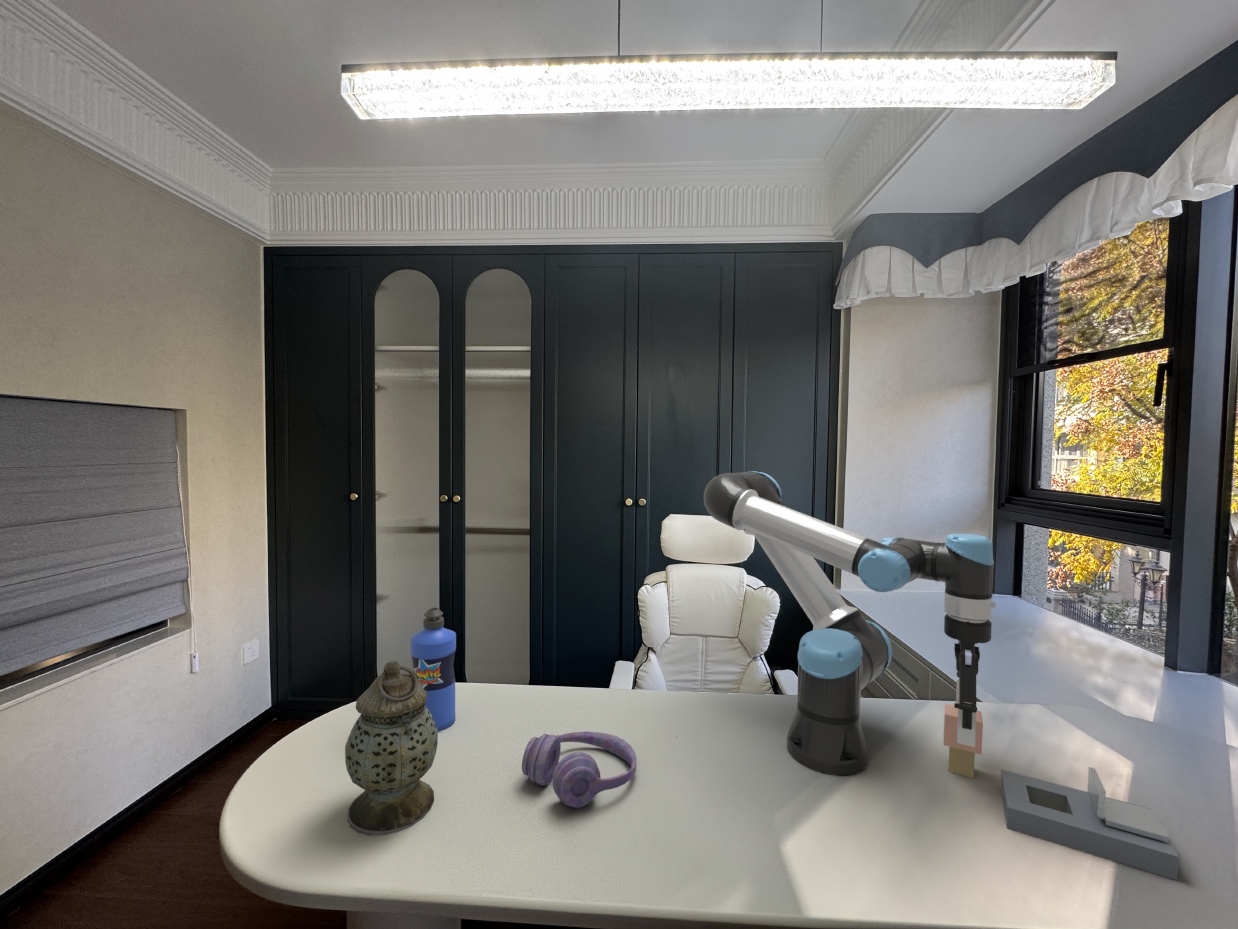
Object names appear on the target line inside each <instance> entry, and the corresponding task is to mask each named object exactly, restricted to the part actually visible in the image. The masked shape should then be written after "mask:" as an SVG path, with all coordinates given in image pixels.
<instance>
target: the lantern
mask: <svg viewBox="0 0 1238 929" xmlns="http://www.w3.org/2000/svg"><path fill="white" fill-rule="evenodd" d="M426 701H427V692H426V691H425V690H424V689H423V688H422V687H421V686H420V685H419V684H418V680H417V677H416V675H415V674H414V670H412V669H411V668H408V667H406V666H404V665H403V666H402V665H401V664H400V663H399V662H398V661H396V660H389V661H388V662H387V663H385V664H384V667H383V671H382V673H381V674H380V675H379V676H377V677H376V678H375V679H374V681H373V682H372V683H371V685H370V686H369V687H368V688H367V689H366V690H365V691H363V693H362V694H361V695H360V696H359V697H358V698H357V699H356V701H355V710H356V711H357V713H358V714H360V715H359V717H358V718H357V720H356V721H355V723H354V724H353V727H352V729H351V730H350V733H349V735H348V738H347V741H346V744H345V745H344V758H345V759H344V761H345V767H346V771H347V774H348V775H349V778H350V780H351V783H353V784H355V785H356V786H358V787H359V788H361V789H363V792H362V793H360V794H359V795H358V796H357V797H356V798H355V799H354V800H353V801H352V802H351V803H350V805H349V807H348V808H347V822H348V823H349V826H350V828H351V829H352V830H354V831H355V832H357V833H358V834H364V835H367V836H384V835H389V834H394V833H397V832H400V831H402V830H405V829H407V828H409V827H412V826H413V825H414V824H416V823H418V822H419V821H421V820H422V819H423V818H425V817H426V816H427V814H428V813H429V812H430V811H431V810H432V807H433V805H434V803H435V795H434V794H435V793H434V792H435V791H434V790H433V788H432V787H431V785H430V784H428V783H426V782H424V781H422V780H421V779H422V778H423V777H424V776H425V775H426V774H427V772H428V771H429V770H430V769H431V768H432V766H433V764H434V763H433V762H434V760H435V757H436V754H437V751H438V750H437V749H438V744H439V743H438V740H439V739H438V735H439V732H438V729H437V727H436V724H435V721H434V719H433V716H432V715H431V713H430V711H429V710H428V709H427V707H426V706H425V702H426Z"/></svg>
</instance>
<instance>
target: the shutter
mask: <svg viewBox="0 0 1238 929" xmlns="http://www.w3.org/2000/svg"><path fill="white" fill-rule="evenodd" d="M1087 775H1088V776H1087V791H1086V792H1087V793H1088V796H1089V798H1090V800H1091V803H1092V805H1093V808H1094V810H1095V813H1096V815H1097V817H1098V818H1101V819H1103V820H1104V822H1105V824H1106V825H1108V826H1111V827H1115V828H1118V829H1122V830H1126V831H1129V832H1133V833H1136V834H1140V835H1143V836H1147V837H1150V838H1154V839H1157V840H1161V841H1164V842H1168V839H1169V835H1168V834H1167V832H1166V831H1165V829H1164V827H1163V825H1162V824H1161V822H1160V820H1159V818H1158V816H1157V815H1156V813H1155V811H1154V810H1153V809H1152V808H1150V809H1147V808H1148V807H1146V808H1143V807H1144V806H1143V807H1139V806H1140V805H1139V806H1136V805H1137V804H1135V805H1132V804H1133V803H1131V804H1128V803H1129V802H1127V803H1124V802H1125V801H1124V802H1120V801H1121V800H1120V801H1117V800H1118V799H1116V800H1113V799H1114V798H1112V799H1109V798H1110V797H1108V798H1106V797H1107V796H1106V794H1107V791H1106V789H1105V787H1104V785H1103V782H1102V780H1101V778H1100V776H1099V774H1098V771H1097V769H1096V768H1094V767H1090V766H1088V774H1087ZM1151 809H1152V810H1151Z"/></svg>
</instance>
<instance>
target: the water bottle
mask: <svg viewBox="0 0 1238 929" xmlns="http://www.w3.org/2000/svg"><path fill="white" fill-rule="evenodd" d="M423 615H424V616H423V617H424V618H423V620H422V621H423V622H422V624H423V626H422V627H423V629H422V630H420V631H418V632H416V633H414V634H412V635H411V637H410V655H411V660H412V661H411V662H412V669H413V670H412V671H413V672H414V674H415V675H416V677H417V680H418V684H419V685H420V686H421V687H422V688H423V689H424V690H425V691H426V692H427V701H426V702H425V706H426V707H427V709H428V710H429V711H430V713H431V715H432V716H433V719H434V721H435V724H436V727H437V729H438V733H439V732H442V731H444V730H446V729H447V730H448V729H449V728H450V727H451V726H454V724H455V722H456V678H455V677H456V676H455V670H454V661H455V656H456V654H455V653H456V650H457V633H456V632H455V631H454V630H451V629H448V628H445V627H444V625H445V619H444V617H443V616H442V615H444V612H443V611H442V610H440V608H438V607H430V608H428V610H427V611H426V612H425V613H424V614H423Z"/></svg>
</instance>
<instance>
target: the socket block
mask: <svg viewBox="0 0 1238 929" xmlns="http://www.w3.org/2000/svg"><path fill="white" fill-rule="evenodd" d="M999 788H1000V793H1001V794H1000V795H1001V801H1002V808H1003V813H1004V819H1005V826H1006V829H1009V830H1011V831H1014V832H1018V833H1021V834H1025V835H1028V836H1031V837H1035V838H1038V839H1042V840H1044V841H1048V842H1051V843H1055V844H1057V845H1060V846H1064V847H1067V848H1071V849H1072V850H1073V849H1074V850H1077V851H1080V852H1084V853H1085V854H1086V853H1087V854H1090V855H1093V856H1097V857H1100V858H1103V859H1107V860H1110V861H1113V862H1116V863H1120V864H1123V865H1126V866H1129V867H1133V868H1134V869H1135V868H1136V869H1139V870H1142V871H1146V872H1149V873H1152V874H1154V875H1159V876H1160V877H1161V876H1162V877H1165V878H1168V879H1172V880H1175V881H1178V873H1179V862H1180V861H1179V858H1180V856H1179V855H1178V853H1177V851H1176V849H1175V847H1174V846H1173V844H1172V842H1171V840H1170V839H1169V838H1168V842H1164V841H1161V840H1157V839H1154V838H1150V837H1147V836H1143V835H1140V834H1136V833H1133V832H1129V831H1126V830H1122V829H1118V828H1115V827H1111V826H1108V825H1106V824H1105V822H1104V820H1103V819H1101V818H1098V817H1097V815H1096V813H1095V810H1094V808H1093V805H1092V803H1091V800H1090V798H1089V796H1088V793H1087V791H1085V790H1081V789H1078V788H1074V787H1069V786H1066V785H1062V784H1059V783H1056V782H1055V783H1054V782H1052V781H1051V782H1050V781H1047V780H1044V779H1043V780H1042V779H1040V778H1036V777H1031V776H1028V775H1024V774H1020V773H1017V772H1013V771H1009V770H1005V769H1000V787H999ZM1106 798H1109V799H1113V800H1117V801H1120V802H1124V803H1128V804H1132V805H1136V806H1139V807H1143V808H1147V809H1151V810H1153V809H1152V808H1150V807H1146V806H1142V805H1137V804H1134V803H1131V802H1127V801H1123V800H1119V799H1116V798H1112V797H1108V796H1106Z"/></svg>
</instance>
